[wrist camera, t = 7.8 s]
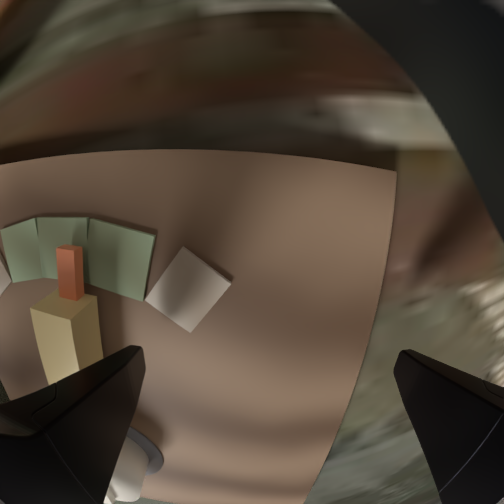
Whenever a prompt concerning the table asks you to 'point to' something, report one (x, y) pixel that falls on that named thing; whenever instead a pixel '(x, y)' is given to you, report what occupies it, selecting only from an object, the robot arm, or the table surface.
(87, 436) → the robot arm
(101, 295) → the tuner board
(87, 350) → the tuner pointer lever
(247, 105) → the table surface
